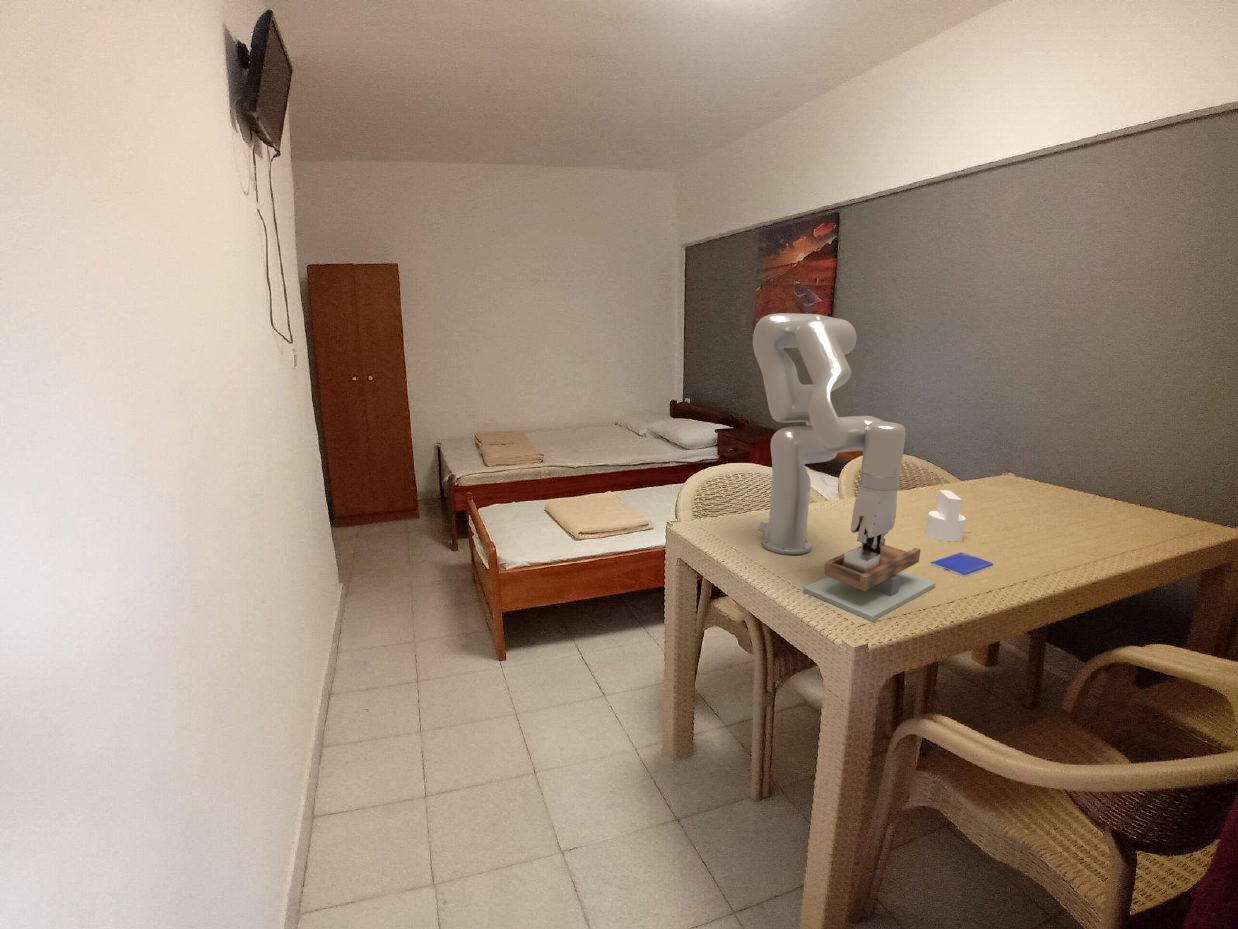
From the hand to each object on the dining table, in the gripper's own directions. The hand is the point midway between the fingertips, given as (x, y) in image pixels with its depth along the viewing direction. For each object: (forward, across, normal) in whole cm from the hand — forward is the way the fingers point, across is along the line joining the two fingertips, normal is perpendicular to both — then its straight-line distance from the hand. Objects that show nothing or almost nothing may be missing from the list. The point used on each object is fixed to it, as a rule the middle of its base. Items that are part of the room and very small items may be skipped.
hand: (869, 563), depth 127 cm
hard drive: (+8, -32, +6) cm, 34 cm away
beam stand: (+7, -2, 0) cm, 7 cm away
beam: (+2, -2, 0) cm, 2 cm away
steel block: (0, +5, +1) cm, 5 cm away
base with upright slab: (+7, -50, -6) cm, 51 cm away
